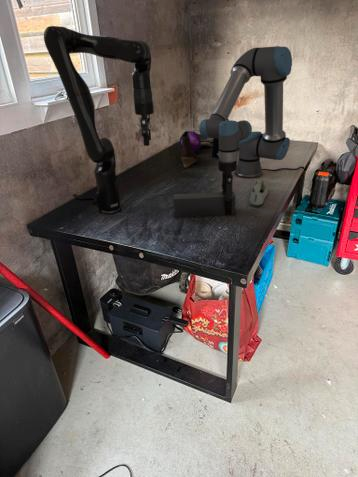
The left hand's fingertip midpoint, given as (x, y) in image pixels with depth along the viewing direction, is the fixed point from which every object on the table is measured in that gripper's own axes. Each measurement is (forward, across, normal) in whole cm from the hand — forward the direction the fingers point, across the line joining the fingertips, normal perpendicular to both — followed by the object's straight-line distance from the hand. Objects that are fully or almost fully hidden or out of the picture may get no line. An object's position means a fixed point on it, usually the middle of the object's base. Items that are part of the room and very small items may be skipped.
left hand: (147, 142), depth 135 cm
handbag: (+32, -87, +42) cm, 102 cm away
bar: (+32, +3, +23) cm, 39 cm away
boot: (+32, -73, +18) cm, 82 cm away
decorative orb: (+32, -96, +19) cm, 103 cm away
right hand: (+30, +3, +33) cm, 45 cm away
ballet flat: (+32, -12, +50) cm, 61 cm away
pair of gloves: (+32, -119, +35) cm, 128 cm away
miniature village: (+32, -104, +68) cm, 128 cm away
